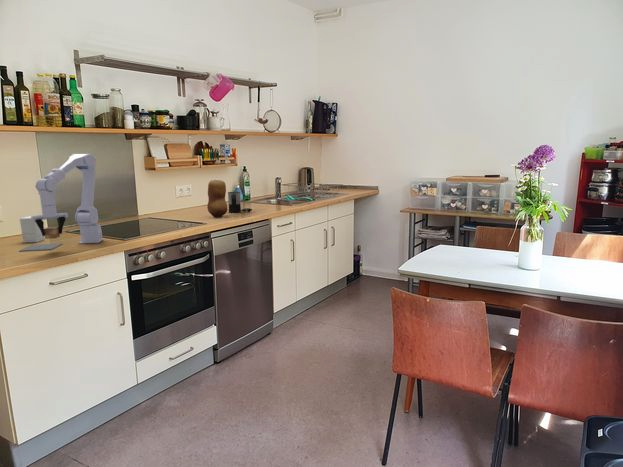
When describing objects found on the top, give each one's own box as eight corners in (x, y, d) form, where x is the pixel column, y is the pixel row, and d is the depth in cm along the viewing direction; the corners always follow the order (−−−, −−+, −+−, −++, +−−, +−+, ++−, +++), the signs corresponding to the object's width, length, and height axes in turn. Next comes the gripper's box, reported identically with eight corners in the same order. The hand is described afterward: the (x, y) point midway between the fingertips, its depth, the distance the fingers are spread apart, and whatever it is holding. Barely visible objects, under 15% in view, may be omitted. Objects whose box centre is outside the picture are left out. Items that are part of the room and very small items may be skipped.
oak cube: (59, 236, 212) (58, 226, 211) (55, 238, 208) (54, 228, 207) (49, 236, 212) (48, 227, 211) (45, 238, 207) (43, 228, 206)
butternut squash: (229, 217, 305) (227, 180, 300) (209, 219, 300) (207, 181, 295) (225, 215, 317) (223, 179, 313) (206, 216, 312) (203, 179, 308)
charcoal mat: (62, 244, 227) (62, 243, 227) (51, 250, 214) (51, 248, 214) (32, 245, 225) (32, 244, 225) (19, 251, 212) (19, 250, 212)
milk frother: (227, 212, 333) (226, 191, 331) (247, 210, 340) (247, 190, 337) (232, 214, 321) (231, 193, 318) (253, 212, 327) (252, 192, 324)
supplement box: (45, 239, 240) (42, 215, 238) (37, 242, 233) (34, 217, 230) (30, 239, 240) (27, 216, 238) (22, 242, 233) (19, 218, 230)
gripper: (63, 202, 215) (66, 231, 217) (28, 205, 205) (32, 235, 208) (67, 204, 210) (71, 233, 212) (31, 207, 200) (35, 237, 203)
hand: (52, 234), depth 210 cm, fingers closed on oak cube, 6 cm apart
